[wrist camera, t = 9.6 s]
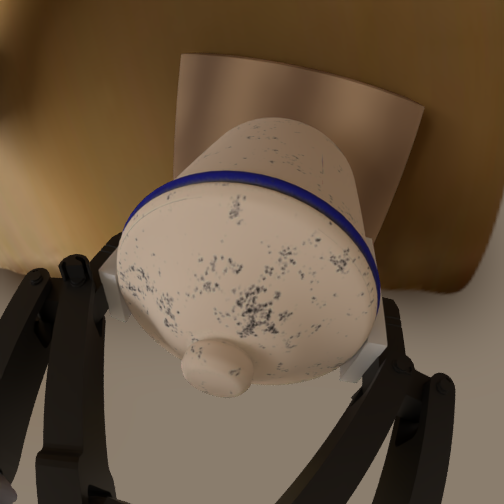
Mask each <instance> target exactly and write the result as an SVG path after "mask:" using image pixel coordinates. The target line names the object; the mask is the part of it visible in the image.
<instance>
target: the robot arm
mask: <svg viewBox="0 0 504 504" xmlns="http://www.w3.org/2000/svg"><path fill="white" fill-rule="evenodd" d="M121 236H122V232H121V233H119V234H117V235H115V236H113V237H112V238H111V239H110V240H109V241H108V242H107V243H106V246H104V247H103V248H102V249H101V251H99V252H98V253H97V255H96V256H95V257H94V258H93V259H92V260H91V261H90V263H89V260H88V259H87V257H86V256H84V255H80V254H74V255H70V256H68V257H66V258H64V259H63V260H62V261H61V262H60V264H59V269H60V272H61V275H62V278H51V277H50V274H49V272H48V271H47V270H46V269H44V268H36V269H33V270H31V271H30V272H28V273H27V275H26V276H25V277H24V279H23V280H22V282H21V284H20V285H19V287H18V289H17V291H16V292H15V294H14V295H13V297H12V299H11V301H10V302H9V304H8V306H7V308H6V309H5V311H4V313H3V315H2V317H1V319H0V504H12V503H13V502H15V501H16V500H17V494H16V492H15V490H14V489H13V488H12V487H11V483H12V481H13V479H14V477H15V474H16V472H17V469H18V465H19V461H20V458H21V453H22V448H23V443H24V439H25V436H26V432H27V428H28V425H29V421H30V417H31V414H32V410H33V407H34V403H35V400H36V397H37V394H38V391H39V388H40V385H41V382H42V379H43V376H44V373H45V370H46V368H47V365H48V371H47V380H46V391H45V406H44V429H43V430H44V431H43V448H42V450H41V451H39V452H38V453H37V456H36V462H35V467H36V485H37V497H38V504H130V503H128V502H125V501H121V500H118V499H117V498H116V492H115V486H114V481H113V478H112V475H111V473H110V471H109V467H108V459H107V448H106V435H105V419H104V341H105V323H106V321H105V316H104V315H105V313H106V312H107V310H108V309H109V311H110V314H111V317H113V318H115V319H118V320H120V321H123V322H127V320H128V318H129V317H130V315H131V314H132V313H131V312H130V310H129V308H128V306H127V304H126V302H125V300H124V298H123V295H122V293H121V289H120V286H119V282H118V276H117V251H118V246H119V241H120V239H121ZM366 243H367V246H368V247H369V250H370V252H371V254H372V256H373V258H374V260H375V264H376V258H375V252H374V247H373V242H372V239H371V238H367V237H366ZM376 267H377V264H376ZM377 270H378V269H377ZM380 293H381V288H380ZM361 377H362V382H363V383H362V387H361V388H360V389H359V390H358V391H357V392H356V393H355V394H354V395H353V396H352V397H351V398H352V401H351V403H350V404H349V406H348V408H347V409H346V411H345V412H344V414H343V415H342V417H341V418H340V420H339V421H338V423H337V424H336V426H335V427H334V429H333V430H332V432H331V433H330V435H329V436H328V438H327V439H326V440H325V442H324V443H323V444H322V446H321V447H320V449H319V450H318V451H317V453H316V454H315V455H314V457H313V458H312V460H311V461H310V462H309V463H308V465H307V466H306V467H305V468H304V470H303V471H302V472H301V473H300V475H299V476H298V477H297V478H296V480H295V481H294V482H293V483H292V485H291V486H290V487H289V488H288V489H287V491H286V492H285V493H284V494H283V495H282V496H281V498H280V499H279V500H278V501H277V502H276V503H275V504H346V503H347V501H348V500H349V498H350V497H351V495H352V494H353V492H354V491H355V489H356V488H357V486H358V485H359V483H360V481H361V480H362V478H363V476H364V475H365V473H366V472H367V470H368V468H369V467H370V465H371V463H372V461H373V460H374V457H375V456H376V454H377V453H378V451H379V449H380V447H381V445H382V443H383V441H384V440H385V438H386V436H387V434H388V432H389V430H390V428H391V426H392V424H393V422H394V426H393V430H392V435H391V440H390V443H389V447H388V452H387V455H386V459H385V463H384V466H383V470H382V473H381V477H380V480H379V484H378V487H377V490H376V493H375V496H374V499H373V502H372V504H441V501H442V497H443V492H444V487H445V483H446V477H447V472H448V465H449V459H450V458H449V457H450V452H451V444H452V435H453V424H454V409H455V385H454V383H453V381H452V379H451V378H450V377H449V376H448V375H446V374H444V373H436V374H434V375H433V376H432V377H428V376H426V375H424V374H422V373H420V372H418V371H416V370H415V368H414V364H413V362H412V361H411V359H410V358H409V357H408V356H406V354H405V347H404V340H403V332H402V328H401V321H400V314H399V309H398V307H397V305H396V304H395V302H394V300H392V299H388V298H384V297H382V295H381V296H380V305H379V309H378V313H377V316H376V319H375V322H374V325H373V327H372V330H371V332H370V334H369V336H368V338H367V339H366V341H365V342H364V344H363V345H362V346H361V348H360V349H359V350H358V351H357V353H356V354H355V355H354V356H353V357H352V358H351V359H349V360H348V361H347V362H346V363H344V364H343V365H341V366H340V381H346V382H353V383H357V382H358V381H359V380H360V379H361ZM394 420H395V421H394Z"/></svg>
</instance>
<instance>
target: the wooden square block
mask: <svg viewBox="0 0 504 504" xmlns="http://www.w3.org/2000/svg"><path fill="white" fill-rule="evenodd" d="M424 108H425V107H424V106H422V105H420V104H418V103H417V102H415V101H413V100H411V99H409V98H407V97H404V96H401V95H399V94H396V93H393V92H390V91H388V90H385V89H382V88H379V87H376V86H373V85H370V84H367V83H363V82H360V81H357V80H353V79H350V78H346V77H343V76H339V75H335V74H332V73H328V72H324V71H319V70H315V69H311V68H306V67H302V66H297V65H292V64H287V63H281V62H276V61H270V60H264V59H257V58H250V57H242V56H233V55H224V54H212V53H186V54H181V62H180V72H179V83H178V95H177V108H176V123H175V142H174V169H173V180H174V179H176V178H177V177H178V176H179V175H180V174H181V173H182V172H183V171H184V170H185V169H186V168H187V167H188V166H189V165H190V164H191V163H192V162H194V161H195V160H196V159H197V158H198V157H199V156H200V155H201V154H202V153H203V152H205V151H206V150H207V149H208V148H209V147H210V146H211V145H212V144H214V143H215V142H216V141H217V140H218V139H219V138H220V137H222V136H223V135H224V134H225V133H226V132H228V131H229V130H231V129H232V128H234V127H236V126H238V125H240V124H243V123H245V122H248V121H252V120H255V119H261V118H285V119H291V120H295V121H299V122H302V123H304V124H307V125H309V126H311V127H313V128H315V129H317V130H318V131H320V132H322V133H323V134H324V135H326V136H327V137H328V138H329V139H331V140H332V141H333V142H334V143H335V144H336V145H337V147H338V148H339V149H340V150H341V152H342V153H343V155H344V156H345V157H346V159H347V161H348V163H349V165H350V167H351V170H352V172H353V176H354V179H355V184H356V189H357V194H358V198H359V204H360V209H361V214H362V219H363V225H364V231H365V237H367V238H371V239H372V242H373V244H374V242H375V240H376V238H377V235H378V233H379V231H380V229H381V226H382V224H383V222H384V219H385V217H386V214H387V212H388V210H389V207H390V205H391V202H392V200H393V197H394V195H395V192H396V190H397V187H398V184H399V182H400V179H401V176H402V174H403V171H404V168H405V166H406V163H407V160H408V157H409V154H410V152H411V149H412V146H413V143H414V140H415V137H416V134H417V131H418V127H419V124H420V121H421V118H422V115H423V111H424Z"/></svg>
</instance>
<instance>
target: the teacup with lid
mask: <svg viewBox="0 0 504 504" xmlns="http://www.w3.org/2000/svg"><path fill="white" fill-rule="evenodd" d="M117 276H118V282H119V286H120V289H121V293H122V295H123V298H124V300H125V302H126V304H127V306H128V308H129V310H130V312H131V313H132V315H133V316H134V318H135V319H136V320H137V322H138V323H139V325H140V326H141V327H142V328H143V329H144V330H145V332H146V333H147V334H149V336H150V337H151V338H153V340H155V341H156V342H157V343H158V344H159V345H160V346H162V347H163V348H164V349H165V350H167V351H168V352H170V353H171V354H172V355H174V356H175V357H177V358H179V359H180V360H182V363H181V369H182V372H183V375H184V377H185V379H186V380H187V382H188V383H190V384H191V385H192V386H193V387H195V388H196V389H198V390H200V391H202V392H204V393H206V394H209V395H212V396H216V397H224V398H231V397H236V396H239V395H241V394H242V393H244V392H245V391H246V390H247V389H248V388H249V387H250V385H251V384H257V385H285V384H293V383H299V382H304V381H308V380H312V379H315V378H318V377H320V376H323V375H325V374H327V373H330V372H331V371H333V370H335V369H337V368H338V367H340V366H341V365H343V364H344V363H346V362H347V361H348V360H349V359H351V358H352V357H353V356H354V355H355V354H356V353H357V351H358V350H359V349H360V348H361V346H362V345H363V344H364V342H365V341H366V339H367V338H368V336H369V334H370V332H371V330H372V327H373V325H374V322H375V319H376V316H377V313H378V309H379V305H380V296H381V293H380V280H379V274H378V270H377V267H376V264H375V260H374V258H373V256H372V254H371V252H370V250H369V247H368V246H367V243H366V237H365V231H364V225H363V219H362V214H361V209H360V204H359V198H358V194H357V189H356V184H355V179H354V176H353V172H352V170H351V167H350V165H349V163H348V161H347V159H346V157H345V156H344V155H343V153H342V152H341V150H340V149H339V148H338V147H337V145H336V144H335V143H334V142H333V141H332V140H331V139H329V138H328V137H327V136H326V135H324V134H323V133H322V132H320V131H318V130H317V129H315V128H313V127H311V126H309V125H307V124H304V123H302V122H299V121H295V120H291V119H285V118H261V119H255V120H252V121H248V122H245V123H243V124H240V125H238V126H236V127H234V128H232V129H231V130H229V131H228V132H226V133H225V134H224V135H223V136H222V137H220V138H219V139H218V140H217V141H216V142H215V143H214V144H212V145H211V146H210V147H209V148H208V149H207V150H206V151H205V152H203V153H202V154H201V155H200V156H199V157H198V158H197V159H196V160H195V161H194V162H192V163H191V164H190V165H189V166H188V167H187V168H186V169H185V170H184V171H183V172H182V173H181V174H180V175H179V176H178V177H177V178H176V179H174V180H173V181H170V182H168V183H166V184H164V185H163V186H161V187H159V188H157V189H156V190H154V191H153V192H152V193H150V194H149V195H148V196H146V197H145V198H144V199H143V200H142V201H141V202H140V203H139V204H138V205H137V207H136V208H135V209H134V211H133V212H132V213H131V215H130V217H129V218H128V220H127V222H126V224H125V227H124V229H123V232H122V236H121V239H120V241H119V246H118V251H117Z"/></svg>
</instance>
